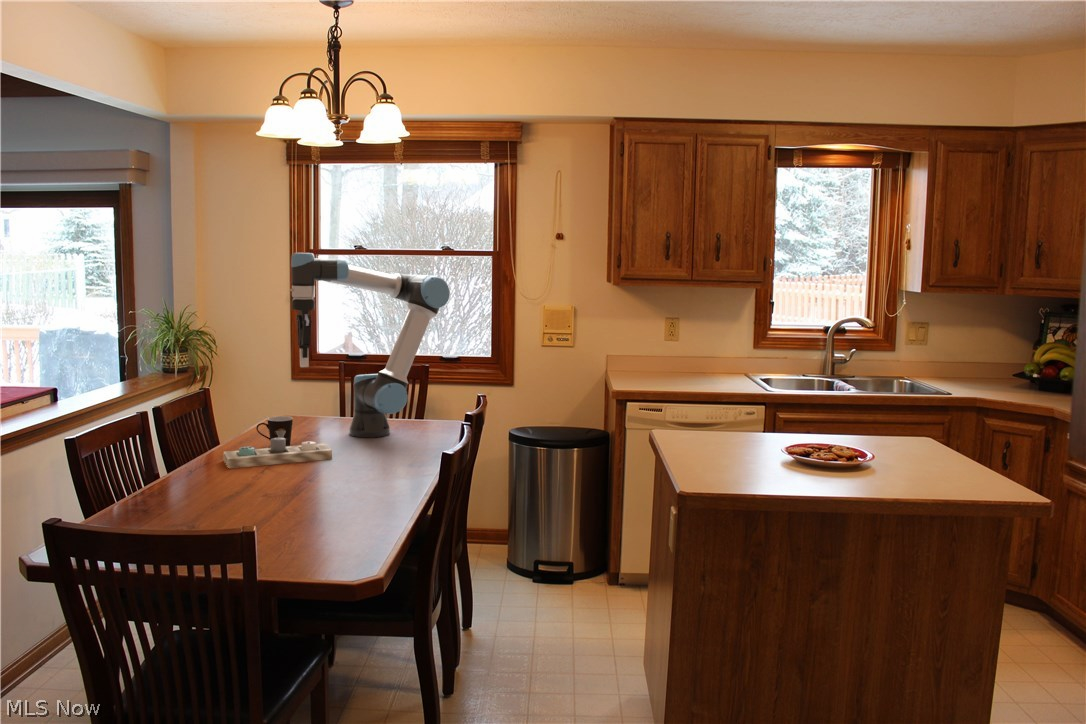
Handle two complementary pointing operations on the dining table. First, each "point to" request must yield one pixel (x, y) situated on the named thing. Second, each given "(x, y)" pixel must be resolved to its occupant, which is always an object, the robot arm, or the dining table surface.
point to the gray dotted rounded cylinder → (278, 445)
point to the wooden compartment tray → (277, 456)
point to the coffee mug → (279, 428)
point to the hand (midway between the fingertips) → (304, 366)
